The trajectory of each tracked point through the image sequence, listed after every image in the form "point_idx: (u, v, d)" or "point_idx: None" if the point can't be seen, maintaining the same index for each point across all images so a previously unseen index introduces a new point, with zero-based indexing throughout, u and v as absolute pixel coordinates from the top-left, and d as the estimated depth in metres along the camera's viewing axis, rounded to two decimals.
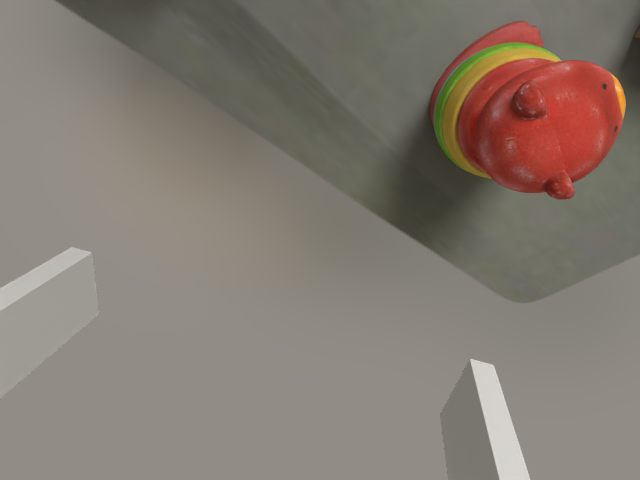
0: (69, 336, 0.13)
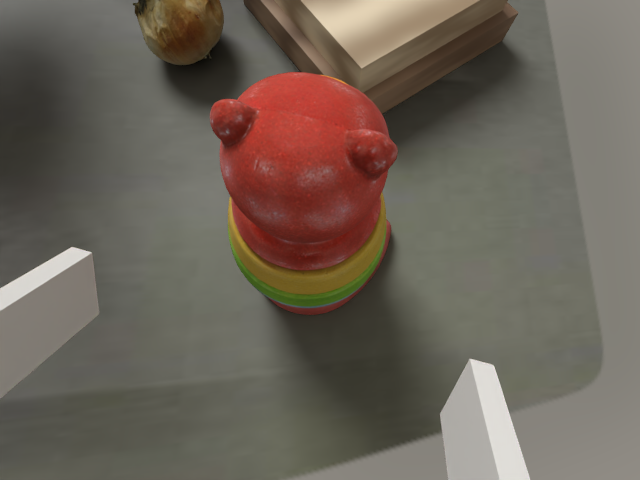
0: (69, 336, 0.13)
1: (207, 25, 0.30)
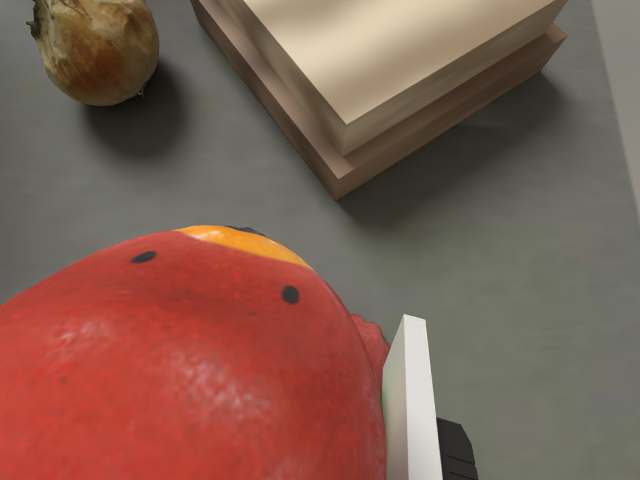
0: None
1: (127, 54, 0.21)
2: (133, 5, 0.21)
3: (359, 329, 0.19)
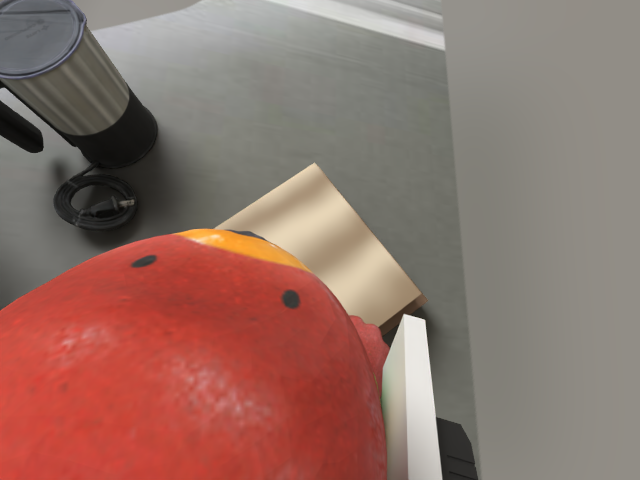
0: None
1: None
2: None
3: (358, 331, 0.19)
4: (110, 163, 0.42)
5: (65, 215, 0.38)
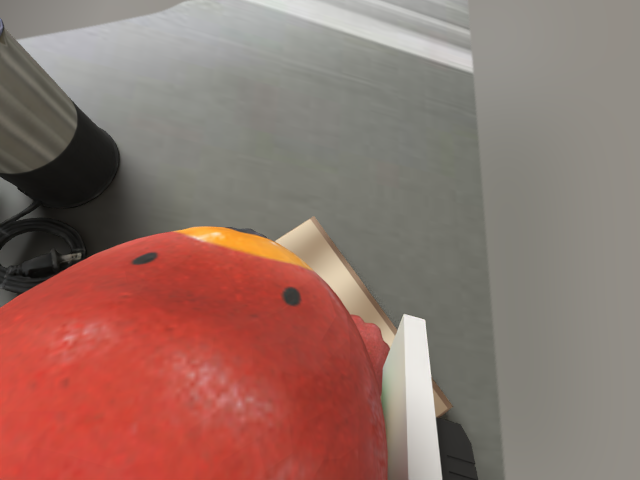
0: None
1: None
2: None
3: (358, 330, 0.19)
4: (56, 203, 0.33)
5: None
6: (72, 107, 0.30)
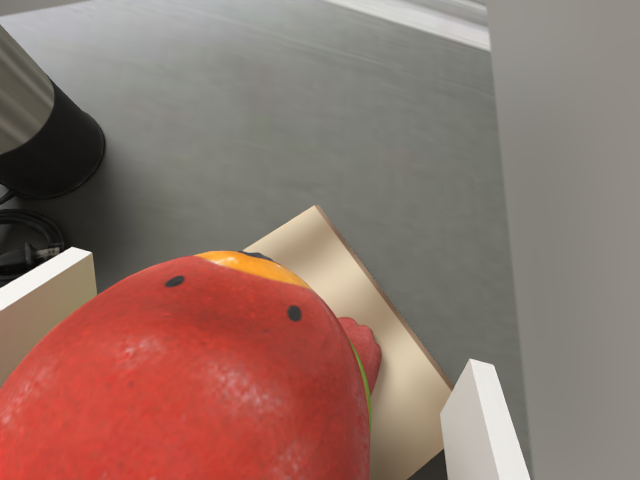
0: None
1: None
2: None
3: (352, 332, 0.20)
4: (33, 193, 0.30)
5: None
6: (48, 84, 0.27)
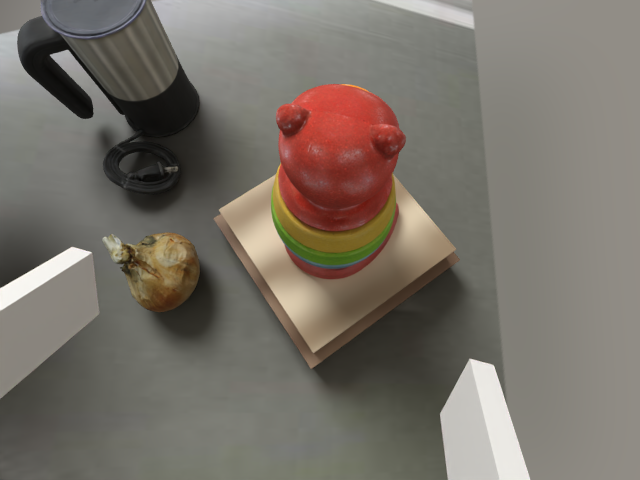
0: (69, 336, 0.13)
1: (183, 291, 0.34)
2: (186, 259, 0.34)
3: None
4: (155, 132, 0.44)
5: (114, 177, 0.39)
6: None
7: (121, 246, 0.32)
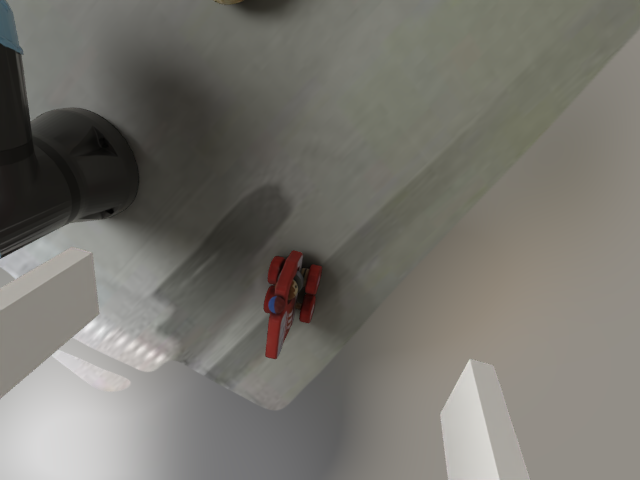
0: (69, 336, 0.13)
1: None
2: None
3: None
4: None
5: None
6: None
7: None
